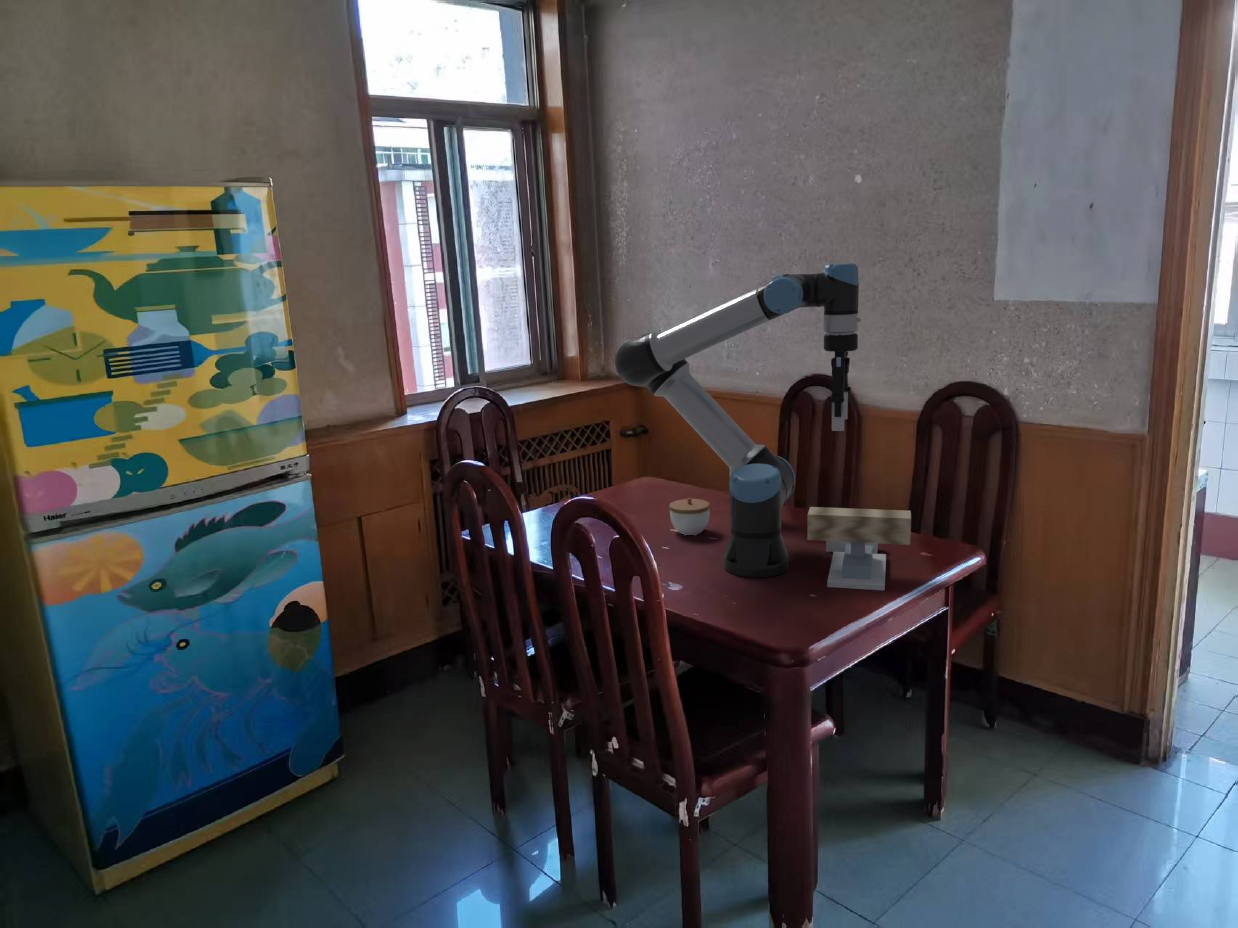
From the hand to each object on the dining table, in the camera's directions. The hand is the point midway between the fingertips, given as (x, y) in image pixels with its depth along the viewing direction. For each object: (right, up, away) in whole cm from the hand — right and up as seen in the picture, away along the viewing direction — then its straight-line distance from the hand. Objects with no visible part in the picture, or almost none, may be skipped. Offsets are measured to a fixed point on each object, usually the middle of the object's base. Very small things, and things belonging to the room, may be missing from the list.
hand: (839, 424), depth 204 cm
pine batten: (+2, -26, -7) cm, 27 cm away
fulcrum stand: (+3, -34, -5) cm, 34 cm away
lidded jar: (-32, -27, +29) cm, 52 cm away
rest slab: (+5, -30, +9) cm, 32 cm away
